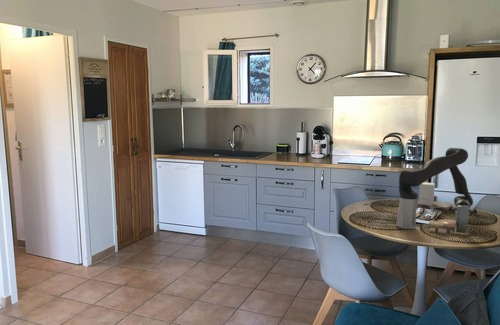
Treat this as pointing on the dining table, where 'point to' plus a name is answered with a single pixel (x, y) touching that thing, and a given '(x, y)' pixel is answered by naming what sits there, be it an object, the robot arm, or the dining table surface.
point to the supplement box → (426, 194)
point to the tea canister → (462, 218)
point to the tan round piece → (448, 223)
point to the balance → (443, 231)
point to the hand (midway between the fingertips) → (462, 212)
